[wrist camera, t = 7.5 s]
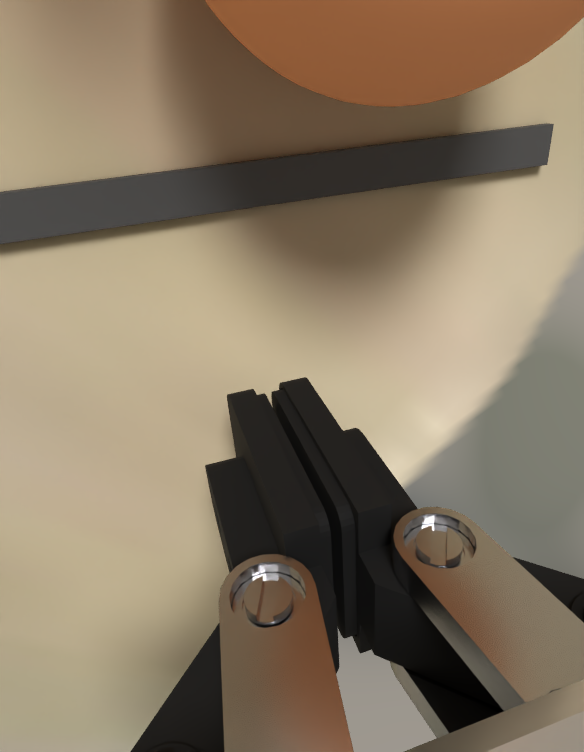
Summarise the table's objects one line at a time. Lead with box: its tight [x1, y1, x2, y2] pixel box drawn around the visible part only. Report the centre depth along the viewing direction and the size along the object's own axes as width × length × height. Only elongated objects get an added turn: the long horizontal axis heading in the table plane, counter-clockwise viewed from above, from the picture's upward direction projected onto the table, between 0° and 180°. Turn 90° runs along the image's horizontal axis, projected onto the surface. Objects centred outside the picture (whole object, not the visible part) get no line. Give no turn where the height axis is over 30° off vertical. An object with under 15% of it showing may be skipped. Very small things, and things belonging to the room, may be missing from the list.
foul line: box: [0, 124, 554, 244], centre depth 10 cm, size 1×14×1 cm, turn 95°
